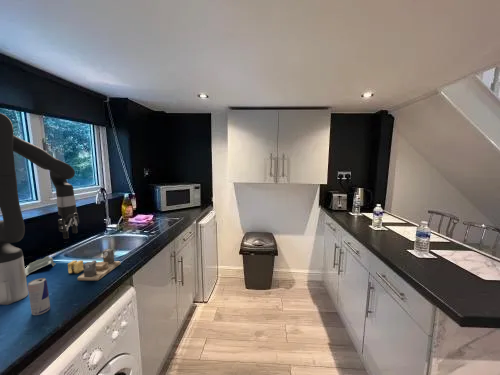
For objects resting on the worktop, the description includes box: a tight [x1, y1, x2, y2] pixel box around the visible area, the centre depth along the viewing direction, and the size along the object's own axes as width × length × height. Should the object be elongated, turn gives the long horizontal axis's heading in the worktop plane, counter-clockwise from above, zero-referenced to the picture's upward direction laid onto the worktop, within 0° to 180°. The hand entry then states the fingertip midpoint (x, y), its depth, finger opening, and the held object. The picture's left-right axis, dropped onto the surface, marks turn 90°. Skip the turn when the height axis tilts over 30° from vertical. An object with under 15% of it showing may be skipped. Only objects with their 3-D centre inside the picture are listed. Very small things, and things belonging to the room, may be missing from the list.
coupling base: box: [77, 248, 121, 281], centre depth 122 cm, size 18×10×8 cm, turn 177°
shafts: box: [85, 248, 112, 269], centre depth 121 cm, size 17×2×4 cm, turn 177°
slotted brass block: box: [67, 260, 84, 274], centre depth 123 cm, size 5×4×5 cm
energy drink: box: [27, 277, 51, 316], centre depth 90 cm, size 5×5×12 cm
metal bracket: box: [25, 255, 56, 277], centre depth 126 cm, size 14×6×15 cm
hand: (70, 235), depth 123 cm, fingers open, 8 cm apart
